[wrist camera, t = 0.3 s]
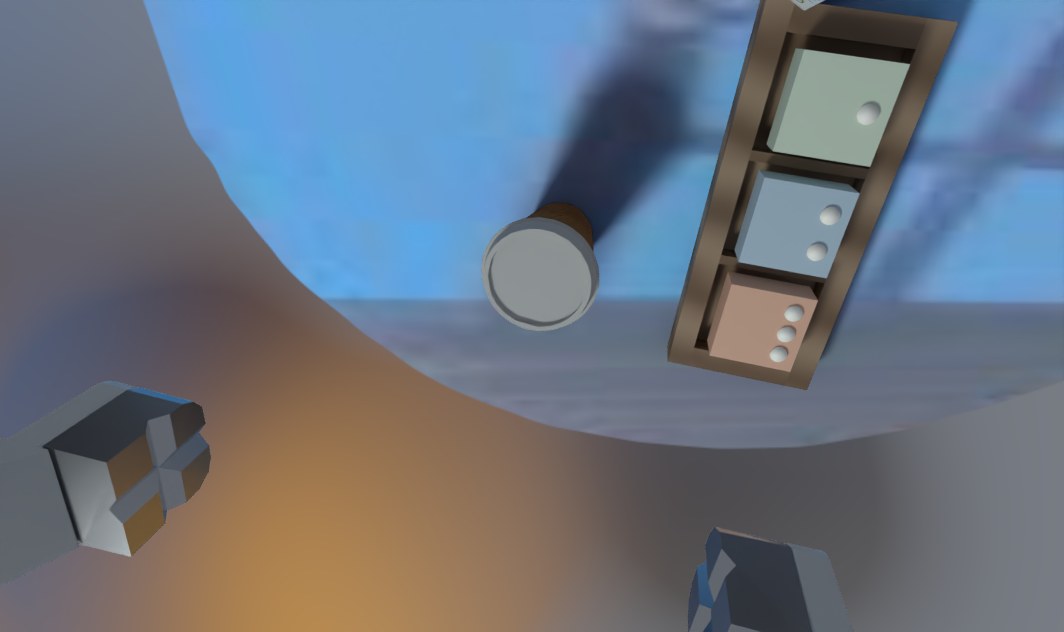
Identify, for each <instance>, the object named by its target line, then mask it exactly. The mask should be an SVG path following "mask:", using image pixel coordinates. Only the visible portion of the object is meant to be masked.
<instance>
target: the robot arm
mask: <svg viewBox="0 0 1064 632" xmlns="http://www.w3.org/2000/svg"><path fill="white" fill-rule="evenodd" d="M204 425H205V418H204V413H203V409H202V406H200V405H198V404H196V403H195V402H192V401H188V400H185V399H181V398H177V397H174V396H170V395H166V394H162V393H159V392H155V391H151V390H148V389H144V388H137V387H133V386H130V385H126V384H122V383H119V382H115V381H108V382H101V383H98V384H96V385H95V386H93V387H92V388H90V389H88V390H87V391H85V392H84V393H82V394H80V395H79V396H77V397H75V398H74V399H72V400H70V401H69V402H67V403H65V404H64V405H62V406H61V407H59V408H57V409H56V410H54V411H52V412H51V413H49V414H47V415H46V416H44V417H43V418H41V419H39V420H38V421H36V422H34V423H33V424H31V425H30V426H28V427H26V428H25V429H23V430H21V431H20V432H18V433H16V434H15V435H13V436H12V437H10V438H8V439H6V438H1V437H0V587H1V586H3V585H4V584H7V583H8V582H10V581H12V580H15V579H16V578H18V577H21V576H22V575H24V574H26V573H28V572H30V571H32V570H34V569H36V568H38V567H40V566H42V565H44V564H46V563H48V562H50V561H52V560H54V559H56V558H58V557H60V556H62V555H64V554H66V553H68V552H70V551H72V550H74V549H76V548H78V547H79V545H78V544H81V545H86V546H89V547H94V548H98V549H102V550H106V551H110V552H114V553H118V554H122V555H126V556H132V555H133V554H134V553H136V551H138V549H140V548H141V547H142V546H143V544H145V543H146V542H147V541H148V540H149V539H150V538H151V537H152V536H153V535H154V534H155V533H156V532H157V531H158V530H159V529H160V528H161V527H162V526H163V525H164V524H165V521H166V513H167V510H169V509H172V508H174V507H177V506H179V505H181V504H183V503H186V502H187V501H188V500H189V499H190V498H191V497H192V496H193V495H194V494H195V493H196V492H197V491H198V490H199V489H200V487H201V485H202V483H203V481H204V479H205V478H206V475H207V473H208V472H209V466H210V459H211V455H210V448H209V445H208V443H207V442H206V441H205V440H204V438H203V437H202V436H201V434H200V433H199V431H200V430H201V429H202V428H203V426H204ZM705 550H706V562H705V563H703V564H702V565H700V566H698V567H697V569H696V572H695V575H694V578H693V581H692V585H691V591H690V597H689V602H688V632H854V631H853V628H852V625H851V623H850V620H849V617H848V613H847V611H846V607H845V604H844V602H843V599H842V596H841V593H840V590H839V587H838V584H837V581H836V578H835V575H834V572H833V569H832V566H831V563H830V560H829V557H828V556H827V555H826V554H825V553H824V551H821V550H816V549H811V548H807V547H803V546H798V545H794V544H789V543H786V544H784V543H783V542H779V541H775V540H770V539H765V538H762V537H757V536H753V535H749V534H744V533H740V532H735V531H731V530H727V529H723V528H718V527H714V528H713V530H712V531H711V532H710V534H709V537H708V539H707V542H706V545H705Z"/></svg>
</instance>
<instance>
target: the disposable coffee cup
mask: <svg viewBox="0 0 1064 632" xmlns="http://www.w3.org/2000/svg"><path fill="white" fill-rule="evenodd" d="M482 280H483V283H484V286H485V290H486V293H487V295H488V298H489V300H490V302H491V303H492V305H493V306H494V308H495V309H496V310H497V311H498V312H499V313H500V314H501V315H502V316H503V317H504V318H506V319H507V320H508V321H510V322H511V323H513V324H515V325H517V326H519V327H522V328H525V329H529V330H535V331H546V330H554V329H557V328H560V327H563V326H566V325H568V324H571V323H572V322H574V321H576V320H577V319H579V318H580V317H581V316H582V315H583V314H584V313H586V311H587V310H588V309H589V307H590V306H591V305H592V303H593V301H594V299H595V297H596V294H597V291H598V287H599V267H598V264H597V261H596V258H595V255H594V252H593V232H592V227H591V225H590V222H589V220H588V218H587V217H586V216H585V214H584V213H583V212H582V211H581V210H579V209H578V208H576V207H575V206H573V205H570V204H566V203H551V204H548V205H546V206H543V207H542V208H540V209H539V210H537V211H536V212H534V213H533V214H531V215H530V216H528V217H527V218H524V219H520V220H518V221H515V222H513V223H510V224H508V225H507V226H505V227H504V228H502V229H501V230H500V231H499V232H498V233H497V234H496V235H495V236H494V237H493V238H492V239H491V241H490V242H489V244H488V246H487V248H486V250H485V253H484V256H483V259H482Z"/></svg>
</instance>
